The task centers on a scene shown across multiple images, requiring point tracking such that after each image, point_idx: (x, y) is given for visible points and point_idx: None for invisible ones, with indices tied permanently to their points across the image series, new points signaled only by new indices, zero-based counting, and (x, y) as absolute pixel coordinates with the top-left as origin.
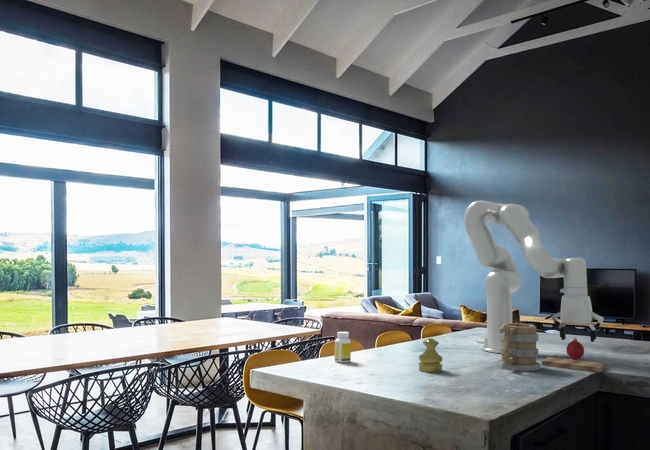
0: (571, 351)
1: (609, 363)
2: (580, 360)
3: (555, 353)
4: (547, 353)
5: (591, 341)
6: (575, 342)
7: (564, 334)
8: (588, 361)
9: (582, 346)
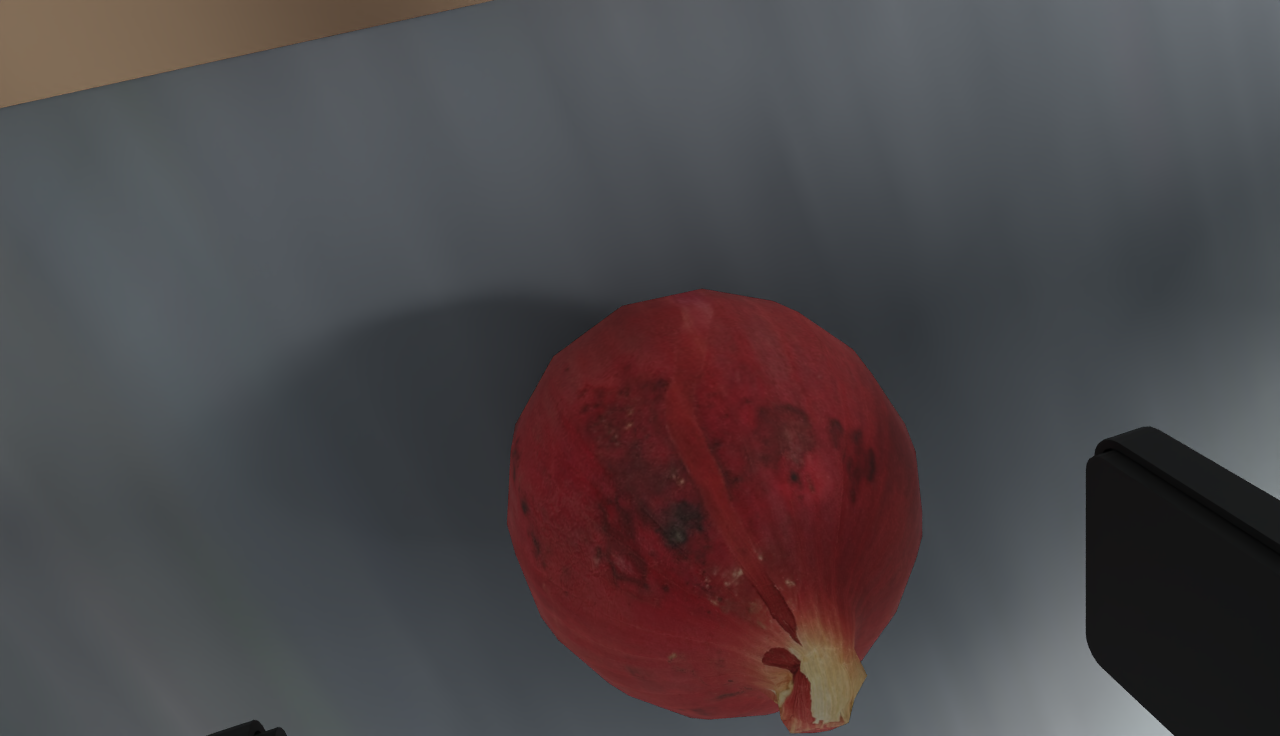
0: (720, 299)
1: (120, 712)
2: (341, 14)
3: (1126, 726)
4: None
5: (248, 725)
6: (738, 533)
7: (1196, 643)
8: (136, 48)
9: (562, 600)
